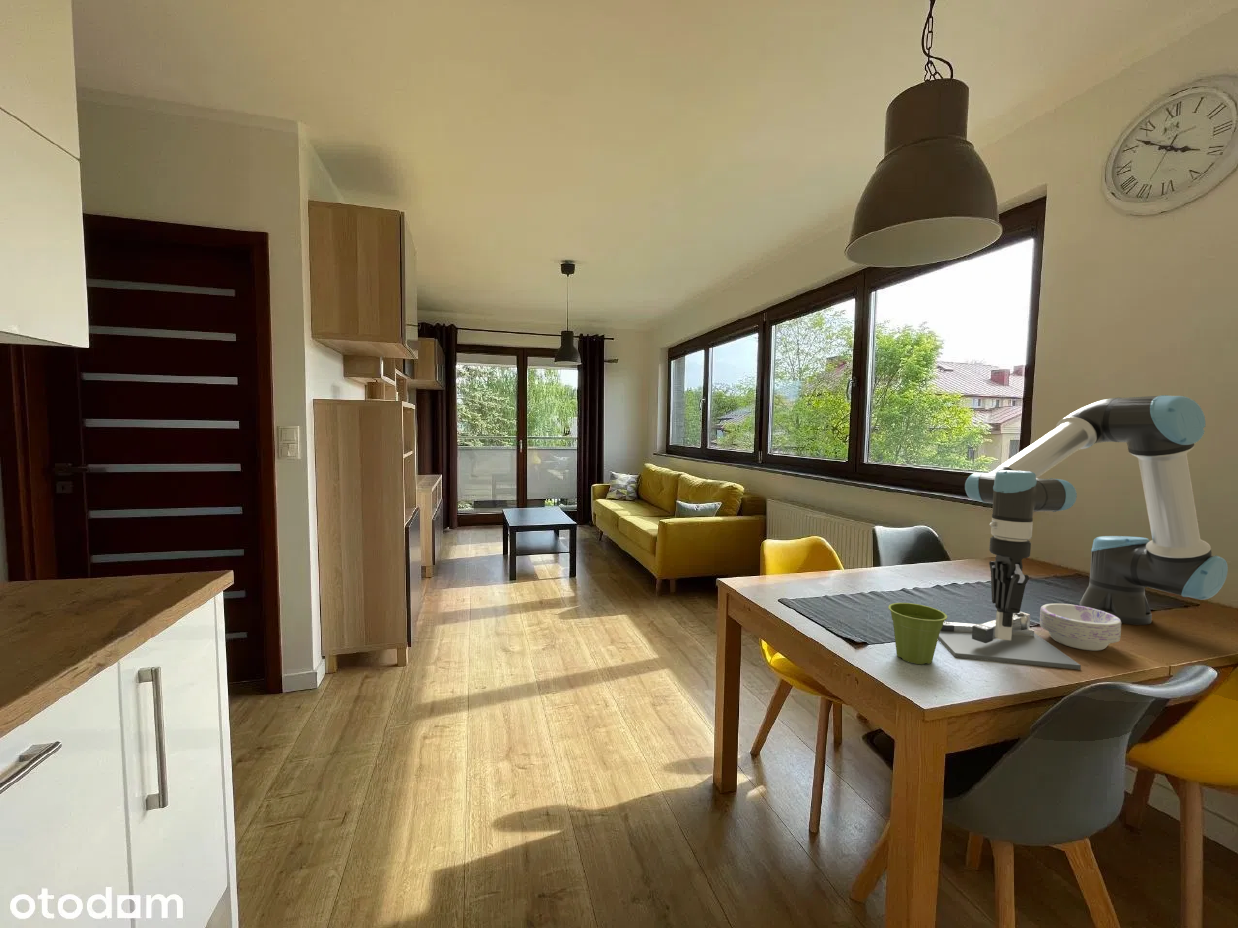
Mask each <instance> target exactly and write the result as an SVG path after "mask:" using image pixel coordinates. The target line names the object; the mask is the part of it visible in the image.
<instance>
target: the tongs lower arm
mask: <svg viewBox="0 0 1238 928" xmlns="http://www.w3.org/2000/svg"><path fill="white" fill-rule="evenodd" d="M977 624H978V623H967V622H951V621H946V620H944V623H943V626H942V629H941V630H940V631H952V632H954V631H960V632H972V628H973V626H974V625H977ZM1034 633H1035V630H1034V629H1032V628H1031V627H1028V629H1027V630H1018V631H1016V632H1013V633H1012V635H1018V636H1033V637H1034Z"/></svg>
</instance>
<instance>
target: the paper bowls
mask: <svg viewBox="0 0 1238 928" xmlns="http://www.w3.org/2000/svg"><path fill="white" fill-rule="evenodd" d="M1039 609H1040V611H1039V615H1040V616H1039V626H1040V627H1041V628H1042V629H1044V630H1045V631H1047V632H1048V634H1049V636H1050V637H1051V639H1052V640H1054V641H1056V642H1057V643H1059V644H1062V645H1064V646H1067V647H1070V648H1074V649H1079V650H1084V651H1102V650H1104V649H1106V648H1107V647H1108V646H1109V644H1115V643H1118V642H1120V640H1121V633H1122V623H1121V620H1120V619H1119V618H1118V617H1116V616H1114V615H1112V614H1110V613H1107V612H1104V611H1101V610H1097V609H1093V608H1089V607H1084V606H1080V605H1077V604H1070V603H1046V604H1043V605H1041V607H1040V608H1039Z"/></svg>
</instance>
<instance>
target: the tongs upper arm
mask: <svg viewBox="0 0 1238 928" xmlns="http://www.w3.org/2000/svg"><path fill="white" fill-rule="evenodd" d="M976 624H977V625H974V626H973V628H972V639H974V640H977V641H980V642H983V643H988V642H991V641H993V639H996V637H995V627H996V619H994V620H990V621H987V622H983V623H976ZM1030 625H1031V614H1030V613H1026V612H1023V611H1020V612H1019V613H1013V623H1012V633H1013V632H1016V631H1018V630H1027V629H1028V627H1029V628H1031V626H1030Z"/></svg>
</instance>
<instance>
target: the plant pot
mask: <svg viewBox="0 0 1238 928" xmlns="http://www.w3.org/2000/svg"><path fill="white" fill-rule="evenodd" d="M888 610H889V611H890V615H891V620H892V625H893V634H894V642H895V651H896V656H897V657H898V658H902V660H903V661H905V662H907V663H912V664H915V665H924V664H929V665H930V664H931V663H932V662H933V660H934V656H935V651H936V648H937V644H938V641H939V639H938V637H939V634H940V630H941V629H942V626H943V623H944V621H946V620H947V619H948V615H947V614H946V613H945V612H943V611H942V610H939V609H937V608H934V607H932V606H927V605H923V604H918V603H910V602H894V603H891V604H889V605H888Z"/></svg>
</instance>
